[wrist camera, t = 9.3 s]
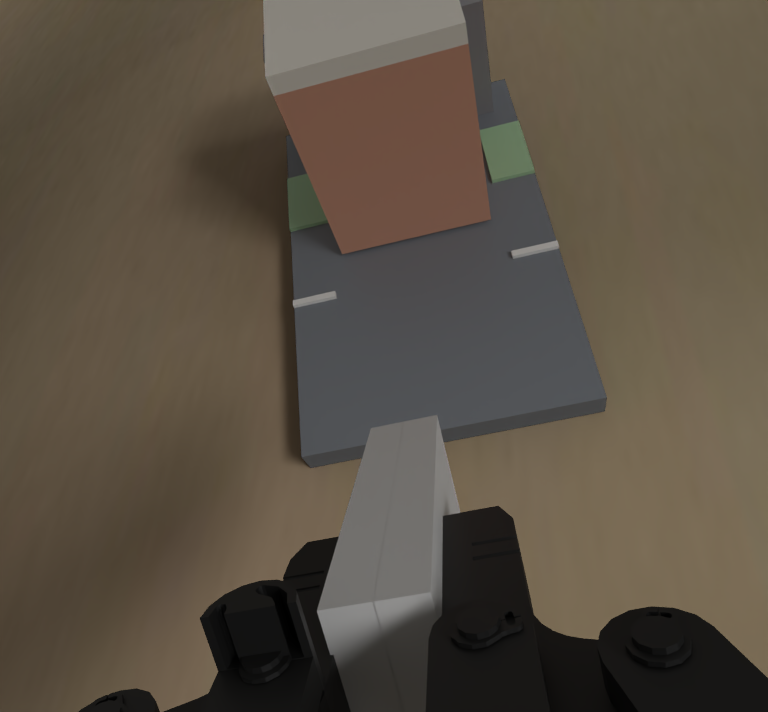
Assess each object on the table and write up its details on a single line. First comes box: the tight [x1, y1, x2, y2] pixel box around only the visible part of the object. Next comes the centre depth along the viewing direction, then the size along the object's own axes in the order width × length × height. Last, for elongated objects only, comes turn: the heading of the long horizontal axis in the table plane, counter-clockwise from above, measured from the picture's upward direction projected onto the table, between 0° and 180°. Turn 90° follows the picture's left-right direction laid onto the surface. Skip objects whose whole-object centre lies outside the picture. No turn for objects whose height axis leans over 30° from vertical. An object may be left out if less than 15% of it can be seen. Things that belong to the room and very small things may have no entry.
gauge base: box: [263, 0, 607, 468], centre depth 29 cm, size 12×19×7 cm, turn 7°
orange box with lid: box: [263, 0, 491, 254], centre depth 28 cm, size 7×5×10 cm
